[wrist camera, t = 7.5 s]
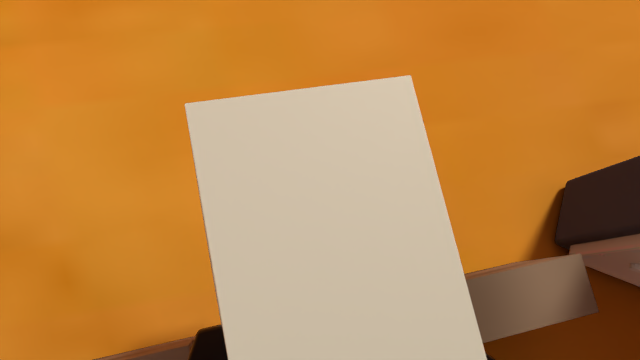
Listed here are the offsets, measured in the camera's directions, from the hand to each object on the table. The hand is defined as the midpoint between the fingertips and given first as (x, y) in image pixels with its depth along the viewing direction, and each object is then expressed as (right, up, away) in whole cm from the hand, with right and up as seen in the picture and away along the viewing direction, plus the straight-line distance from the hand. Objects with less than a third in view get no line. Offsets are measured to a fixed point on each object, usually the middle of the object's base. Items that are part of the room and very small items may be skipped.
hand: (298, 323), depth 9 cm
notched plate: (-1, -3, +6) cm, 7 cm away
